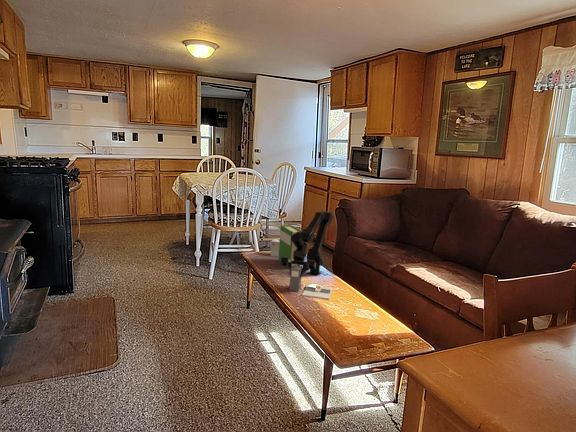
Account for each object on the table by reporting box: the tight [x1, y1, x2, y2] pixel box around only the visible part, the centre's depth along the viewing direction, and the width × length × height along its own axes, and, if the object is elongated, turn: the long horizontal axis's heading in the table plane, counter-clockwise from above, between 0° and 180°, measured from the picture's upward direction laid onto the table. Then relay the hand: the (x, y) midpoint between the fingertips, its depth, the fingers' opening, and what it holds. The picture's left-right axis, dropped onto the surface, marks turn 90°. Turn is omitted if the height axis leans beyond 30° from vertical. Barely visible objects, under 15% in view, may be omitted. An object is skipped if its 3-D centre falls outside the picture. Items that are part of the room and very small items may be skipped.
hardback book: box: [278, 224, 303, 270], centre depth 248 cm, size 18×7×24 cm, turn 23°
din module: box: [288, 265, 303, 292], centre depth 208 cm, size 6×5×12 cm
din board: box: [301, 284, 334, 300], centre depth 207 cm, size 16×14×1 cm
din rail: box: [305, 286, 331, 293], centre depth 206 cm, size 2×13×1 cm, turn 77°
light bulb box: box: [270, 238, 280, 258], centre depth 269 cm, size 11×7×11 cm, turn 84°
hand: (295, 277), depth 207 cm, fingers closed on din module, 5 cm apart
